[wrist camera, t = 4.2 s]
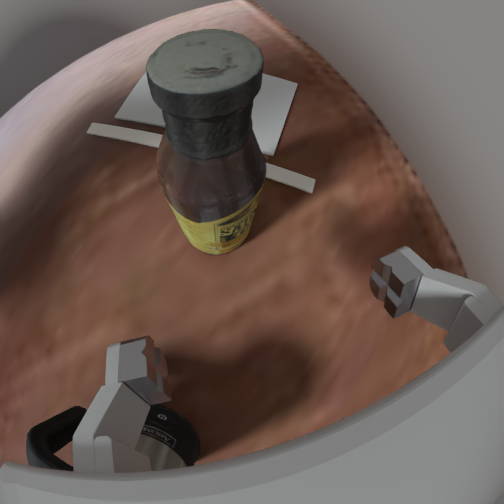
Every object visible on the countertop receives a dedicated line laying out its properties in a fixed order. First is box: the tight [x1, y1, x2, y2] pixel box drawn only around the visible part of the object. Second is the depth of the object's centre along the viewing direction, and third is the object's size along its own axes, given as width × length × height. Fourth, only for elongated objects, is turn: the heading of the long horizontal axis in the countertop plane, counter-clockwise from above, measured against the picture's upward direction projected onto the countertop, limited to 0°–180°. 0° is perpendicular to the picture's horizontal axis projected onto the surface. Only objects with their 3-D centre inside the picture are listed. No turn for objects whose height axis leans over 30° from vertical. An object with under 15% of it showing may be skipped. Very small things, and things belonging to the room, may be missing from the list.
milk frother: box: [26, 405, 200, 471], centre depth 14 cm, size 14×16×15 cm
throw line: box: [86, 122, 315, 194], centre depth 28 cm, size 28×2×1 cm, turn 73°
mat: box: [115, 72, 298, 156], centre depth 29 cm, size 20×12×1 cm, turn 73°
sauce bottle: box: [146, 29, 266, 255], centre depth 17 cm, size 7×6×20 cm
